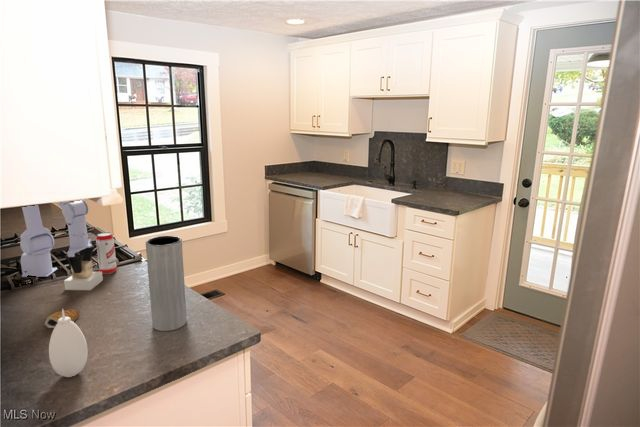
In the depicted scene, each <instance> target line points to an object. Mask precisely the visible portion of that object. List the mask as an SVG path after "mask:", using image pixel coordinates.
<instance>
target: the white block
mask: <svg viewBox="0 0 640 427" xmlns="http://www.w3.org/2000/svg"><path fill="white" fill-rule="evenodd" d="M92 271H93V270H92ZM103 278H104V277H103V274H102V272H100V271H93V274H92V275H90V276H89V277H88V278H87V279H72V275H70V276H69V277H67V278H65V279H64V280H63V282H64V290H65V291H91V290H93V289H94V288H95V287H97V286H98V285H99V284H100V283H101V282H102V281H103V280H104V279H103Z"/></svg>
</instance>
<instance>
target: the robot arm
mask: <svg viewBox="0 0 640 427" xmlns="http://www.w3.org/2000/svg"><path fill="white" fill-rule="evenodd" d="M56 204H57V205H58V207H60V208H61V214H62V215H63V217H64V220H65V223H67V229H68V237H69V244H70V245H69V249H68V251H67V253H66V255H64V258H65V260H66V261H67V262H68V264H69V265H70V268H71V267H72V269H73V271H74V273H81V271H82V261H91V262H92V255H93V252H94V250H95V245H94V244H92V238H88V228H87V221H86V220H87V219H86V215H88V213H89V206H88V204H87V202H86V201H85V200H84V199H82V200H80V201H69V202H60V203H56ZM21 209H22V214H23V219H24V222H25V227H26V229H25V230H24V231H23V232H22V233H21V234H20V236H19V237H20V238H19V239H20V244H19V246H20V249H21V251H22V252H23V253H22V254H21V255H20V256H21V257H20V266H21V273H22V275H21V277H22V278H28V277H27V276H28V275H32V276H36V277H35V278H37V277H38V278H39V277H49V276H50V275H52V274H54V272H56V271H57V270H58V267H53V263H52V257H51V251H52V250H53V249H52V248H54V246H55V238H54V237H53V235H52V233H51V230H50V229H49V228H46V227H44V225H43V222H42V217H41V216H42V215H41V213H40V207H39V204H38V205H35V206H27V207H22V206H21Z"/></svg>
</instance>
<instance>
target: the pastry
mask: <svg viewBox="0 0 640 427" xmlns="http://www.w3.org/2000/svg"><path fill="white" fill-rule="evenodd" d="M63 310H64V314H65V317H70V318H71V321H73V322H74V323H75V321H76V320H78V318H79V317H80V312H79V310H77V309H75V308H74V309H73V308H68V309H63ZM60 318H62V310H59V311H56V312H54V313H52V314H50V315H49V316H48V317H46V320H45V322H44V326H46V328H47V329H54V328H55V326H56V325H57V324H58V319H60Z"/></svg>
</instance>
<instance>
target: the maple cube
mask: <svg viewBox="0 0 640 427" xmlns="http://www.w3.org/2000/svg"><path fill="white" fill-rule="evenodd" d="M92 263H93V262H92V260H91V261H82V271H81V273H74V271H73V269H72V267H71V266H70V269H71V276H72V279H87V278H88V277H89V276H90V275H92V274H93V264H92Z"/></svg>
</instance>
